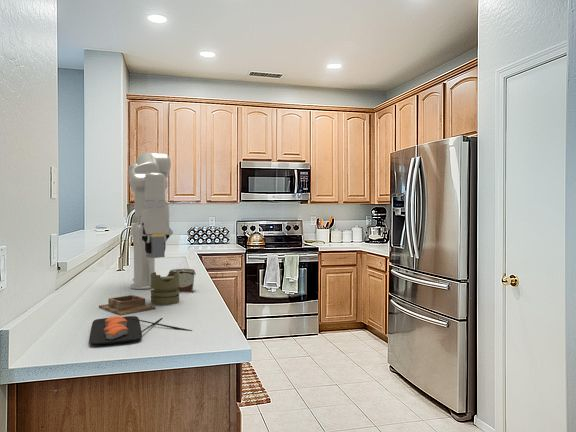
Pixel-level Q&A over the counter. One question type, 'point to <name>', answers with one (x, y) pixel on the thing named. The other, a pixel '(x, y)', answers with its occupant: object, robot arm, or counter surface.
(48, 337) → the counter surface
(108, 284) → the counter surface
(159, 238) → the gold and gray block
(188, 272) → the food container
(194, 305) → the counter surface
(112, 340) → the sushi plate
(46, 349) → the counter surface
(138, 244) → the robot arm
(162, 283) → the piston
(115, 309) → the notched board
